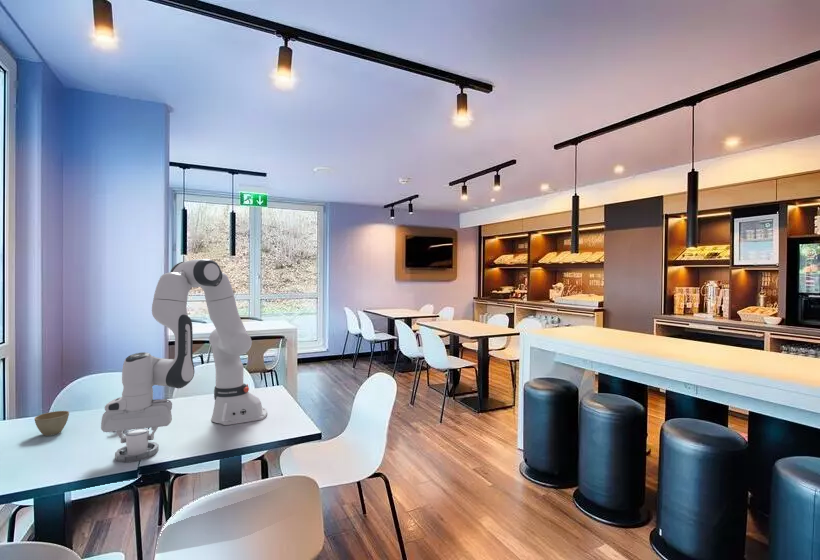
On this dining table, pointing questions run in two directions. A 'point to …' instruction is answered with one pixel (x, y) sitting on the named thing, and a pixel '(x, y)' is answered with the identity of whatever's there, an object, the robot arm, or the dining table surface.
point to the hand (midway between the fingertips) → (137, 440)
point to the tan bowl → (51, 422)
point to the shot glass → (137, 441)
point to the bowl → (124, 457)
